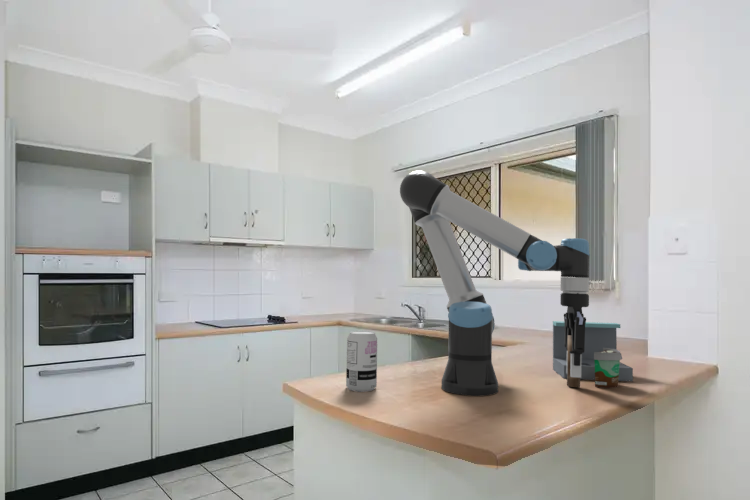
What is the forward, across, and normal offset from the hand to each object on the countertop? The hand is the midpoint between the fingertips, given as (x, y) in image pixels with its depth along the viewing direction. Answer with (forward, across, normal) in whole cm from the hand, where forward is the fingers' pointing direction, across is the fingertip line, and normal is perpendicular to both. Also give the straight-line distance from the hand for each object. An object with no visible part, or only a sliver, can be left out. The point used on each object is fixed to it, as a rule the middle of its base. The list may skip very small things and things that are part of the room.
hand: (573, 375), depth 136 cm
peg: (+3, 0, 0) cm, 3 cm away
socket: (+3, +19, -10) cm, 22 cm away
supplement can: (+4, -14, +59) cm, 60 cm away
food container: (+3, +4, -11) cm, 13 cm away
